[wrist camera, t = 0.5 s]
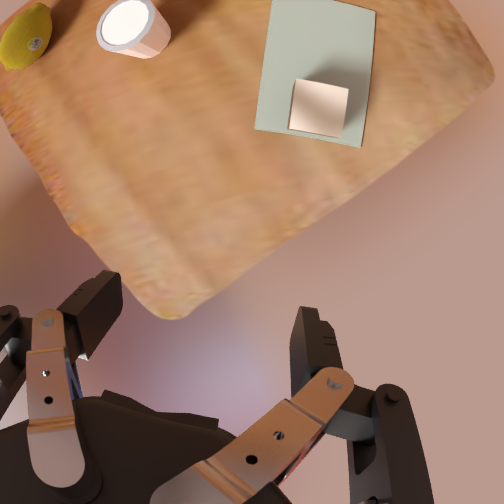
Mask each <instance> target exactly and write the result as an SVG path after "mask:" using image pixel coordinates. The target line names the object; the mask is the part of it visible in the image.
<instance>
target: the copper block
mask: <svg viewBox="0 0 504 504" xmlns="http://www.w3.org/2000/svg"><path fill="white" fill-rule="evenodd" d="M348 90H349V89H346V88H342V87H338V86H333V85H328V84H324V83H319V82H313V81H308V80H302V79H296V80H295V83H294V85H293V89H292V96H291V104H290V111H289V118H288V125H287V129H288V130H294V131H300V132H306V133H312V134H317V135H322V136H327V137H333V138H342V133H343V126H344V119H345V113H346V105H347V98H348Z"/></svg>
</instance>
